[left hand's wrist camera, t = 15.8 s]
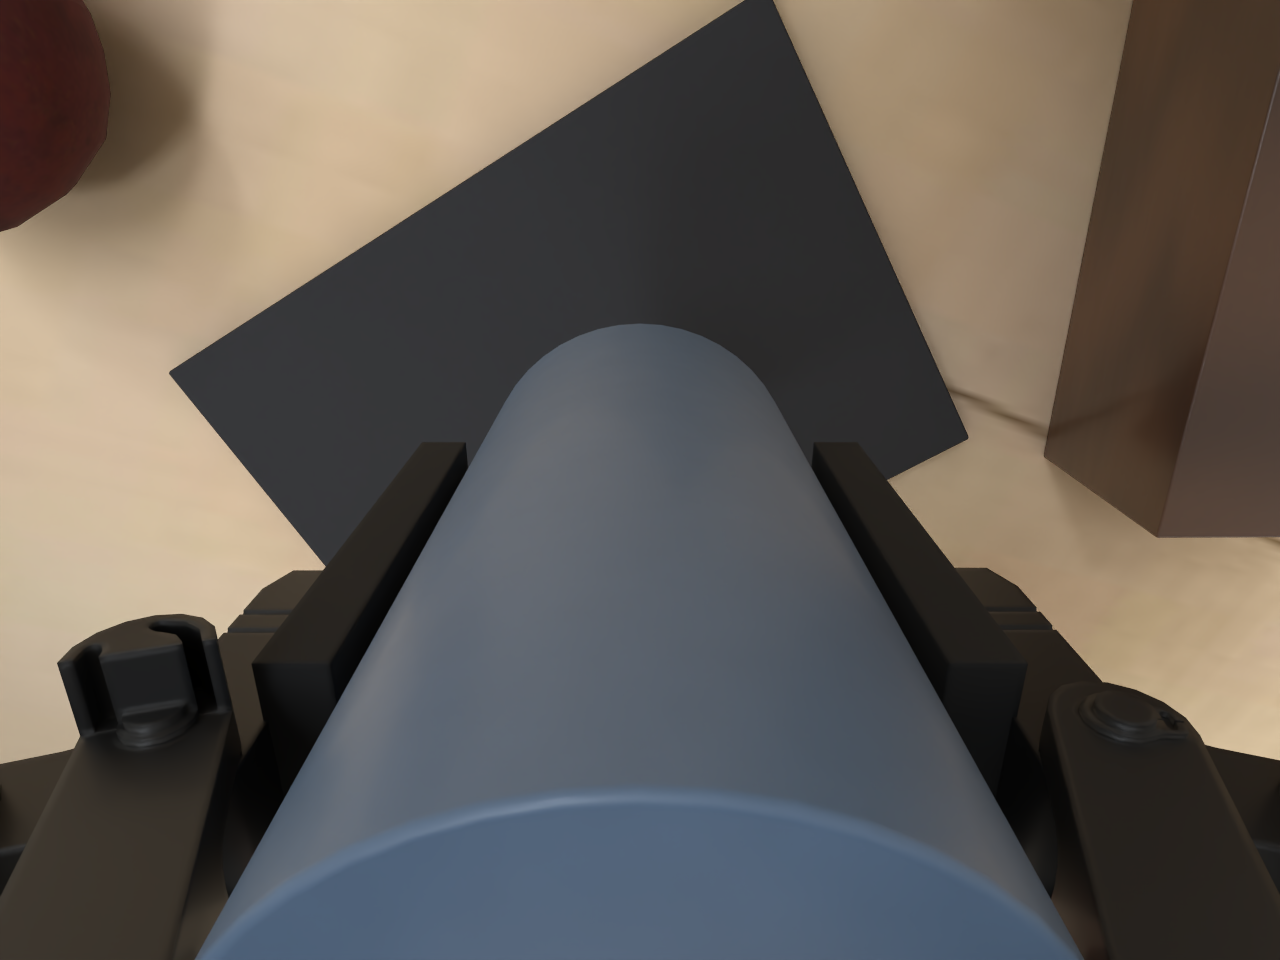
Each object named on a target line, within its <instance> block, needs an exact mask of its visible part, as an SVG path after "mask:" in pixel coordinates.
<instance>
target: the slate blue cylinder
mask: <svg viewBox="0 0 1280 960" xmlns="http://www.w3.org/2000/svg"><path fill="white" fill-rule="evenodd" d="M195 960H1084V958H1083V956H1082V954H1081V953H1080V951H1079V949H1078V947H1077V945H1076V944H1075V942H1074V940H1073V938H1072V936H1071V935H1070V933H1069V931H1068V929H1067V927H1066V926H1065V924H1064V922H1063V920H1062V918H1061V917H1060V915H1059V913H1058V911H1057V909H1056V908H1055V906H1054V904H1053V902H1052V900H1051V899H1050V897H1049V895H1048V893H1047V891H1046V890H1045V888H1044V886H1043V884H1042V882H1041V881H1040V879H1039V877H1038V875H1037V873H1036V872H1035V870H1034V868H1033V866H1032V864H1031V863H1030V861H1029V859H1028V857H1027V855H1026V854H1025V852H1024V850H1023V848H1022V846H1021V845H1020V843H1019V841H1018V839H1017V837H1016V836H1015V834H1014V832H1013V830H1012V828H1011V827H1010V825H1009V823H1008V821H1007V819H1006V818H1005V816H1004V814H1003V812H1002V810H1001V809H1000V807H999V805H998V803H997V801H996V800H995V798H994V796H993V794H992V792H991V791H990V789H989V787H988V785H987V783H986V781H985V780H984V778H983V776H982V774H981V772H980V771H979V769H978V767H977V765H976V763H975V762H974V760H973V758H972V756H971V754H970V753H969V751H968V749H967V747H966V745H965V744H964V742H963V740H962V738H961V736H960V735H959V733H958V731H957V729H956V727H955V726H954V724H953V722H952V720H951V718H950V717H949V715H948V713H947V711H946V709H945V708H944V706H943V704H942V702H941V700H940V699H939V697H938V695H937V693H936V691H935V690H934V688H933V686H932V684H931V682H930V681H929V679H928V677H927V675H926V673H925V672H924V670H923V668H922V666H921V664H920V663H919V661H918V659H917V657H916V655H915V654H914V652H913V650H912V648H911V646H910V645H909V643H908V641H907V639H906V637H905V636H904V634H903V632H902V630H901V628H900V627H899V625H898V623H897V621H896V619H895V618H894V616H893V614H892V612H891V610H890V609H889V607H888V605H887V603H886V601H885V600H884V598H883V596H882V594H881V592H880V591H879V589H878V587H877V585H876V583H875V582H874V580H873V578H872V576H871V574H870V573H869V571H868V569H867V567H866V565H865V564H864V562H863V560H862V558H861V556H860V555H859V553H858V551H857V549H856V547H855V545H854V544H853V542H852V540H851V538H850V536H849V535H848V533H847V531H846V529H845V527H844V526H843V524H842V522H841V520H840V518H839V517H838V515H837V513H836V511H835V509H834V508H833V506H832V504H831V502H830V500H829V499H828V497H827V495H826V493H825V491H824V490H823V488H822V486H821V484H820V482H819V481H818V479H817V477H816V475H815V473H814V472H813V470H812V468H811V466H810V464H809V463H808V461H807V459H806V457H805V455H804V454H803V452H802V450H801V448H800V446H799V445H798V443H797V441H796V439H795V437H794V436H793V434H792V432H791V430H790V428H789V427H788V425H787V423H786V421H785V419H784V418H783V416H782V414H781V412H780V410H779V409H778V407H777V405H776V403H775V401H774V400H773V398H772V397H771V395H770V393H769V392H768V390H767V389H766V387H765V385H764V384H763V383H762V382H761V381H760V379H759V378H758V377H757V376H756V375H755V373H754V372H753V371H752V370H751V369H750V368H749V367H748V366H747V365H746V364H744V363H743V362H742V361H741V360H740V359H739V358H738V357H737V356H735V355H734V354H732V353H731V352H729V351H728V350H726V349H725V348H723V347H722V346H720V345H719V344H717V343H715V342H713V341H711V340H709V339H707V338H705V337H703V336H700V335H697V334H694V333H692V332H689V331H686V330H683V329H679V328H674V327H669V326H664V325H654V324H626V325H616V326H611V327H606V328H601V329H597V330H594V331H591V332H588V333H585V334H583V335H580V336H577V337H575V338H573V339H571V340H569V341H567V342H565V343H563V344H561V345H559V346H558V347H557V348H555V349H554V350H552V351H551V352H549V353H548V354H546V355H545V356H543V357H542V358H541V359H540V360H539V361H538V362H537V363H536V364H534V365H533V366H532V367H531V368H530V369H529V370H528V371H527V372H526V373H525V375H524V376H523V377H522V378H521V379H520V381H519V382H518V383H517V384H516V385H515V387H514V389H513V390H512V392H511V393H510V395H509V397H508V398H507V400H506V401H505V403H504V405H503V407H502V408H501V410H500V412H499V414H498V416H497V417H496V419H495V421H494V423H493V425H492V426H491V428H490V430H489V432H488V434H487V435H486V437H485V439H484V441H483V443H482V444H481V446H480V448H479V450H478V452H477V453H476V455H475V457H474V459H473V461H472V462H471V464H470V466H469V468H468V470H467V471H466V473H465V475H464V477H463V479H462V480H461V482H460V484H459V486H458V488H457V489H456V491H455V493H454V495H453V496H452V498H451V500H450V502H449V504H448V505H447V507H446V509H445V511H444V513H443V514H442V516H441V518H440V520H439V522H438V523H437V525H436V527H435V529H434V531H433V532H432V534H431V536H430V538H429V540H428V541H427V543H426V545H425V547H424V549H423V550H422V552H421V554H420V556H419V558H418V559H417V561H416V563H415V565H414V567H413V568H412V570H411V572H410V574H409V576H408V577H407V579H406V581H405V583H404V584H403V586H402V588H401V590H400V592H399V593H398V595H397V597H396V599H395V601H394V602H393V604H392V606H391V608H390V610H389V611H388V613H387V615H386V617H385V619H384V620H383V622H382V624H381V626H380V628H379V629H378V631H377V633H376V635H375V637H374V638H373V640H372V642H371V644H370V646H369V647H368V649H367V651H366V653H365V655H364V656H363V658H362V660H361V662H360V664H359V665H358V667H357V669H356V671H355V672H354V674H353V676H352V678H351V680H350V681H349V683H348V685H347V687H346V689H345V690H344V692H343V694H342V696H341V698H340V699H339V701H338V703H337V705H336V707H335V708H334V710H333V712H332V714H331V716H330V717H329V719H328V721H327V723H326V725H325V726H324V728H323V730H322V732H321V734H320V735H319V737H318V739H317V741H316V743H315V744H314V746H313V748H312V750H311V752H310V753H309V755H308V757H307V759H306V760H305V762H304V764H303V766H302V768H301V769H300V771H299V773H298V775H297V777H296V778H295V780H294V782H293V784H292V786H291V787H290V789H289V791H288V793H287V795H286V796H285V798H284V800H283V802H282V804H281V805H280V807H279V809H278V811H277V813H276V814H275V816H274V818H273V820H272V822H271V823H270V825H269V827H268V829H267V831H266V832H265V834H264V836H263V838H262V840H261V841H260V843H259V845H258V847H257V849H256V850H255V852H254V854H253V856H252V857H251V859H250V861H249V863H248V865H247V866H246V868H245V870H244V872H243V874H242V875H241V877H240V879H239V881H238V883H237V884H236V886H235V888H234V890H233V892H232V893H231V895H230V897H229V899H228V901H227V902H226V904H225V906H224V908H223V910H222V911H221V913H220V915H219V917H218V919H217V920H216V922H215V924H214V926H213V928H212V929H211V931H210V933H209V935H208V937H207V938H206V940H205V942H204V944H203V945H202V947H201V949H200V951H199V953H198V954H197V956H196V958H195Z"/></svg>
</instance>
